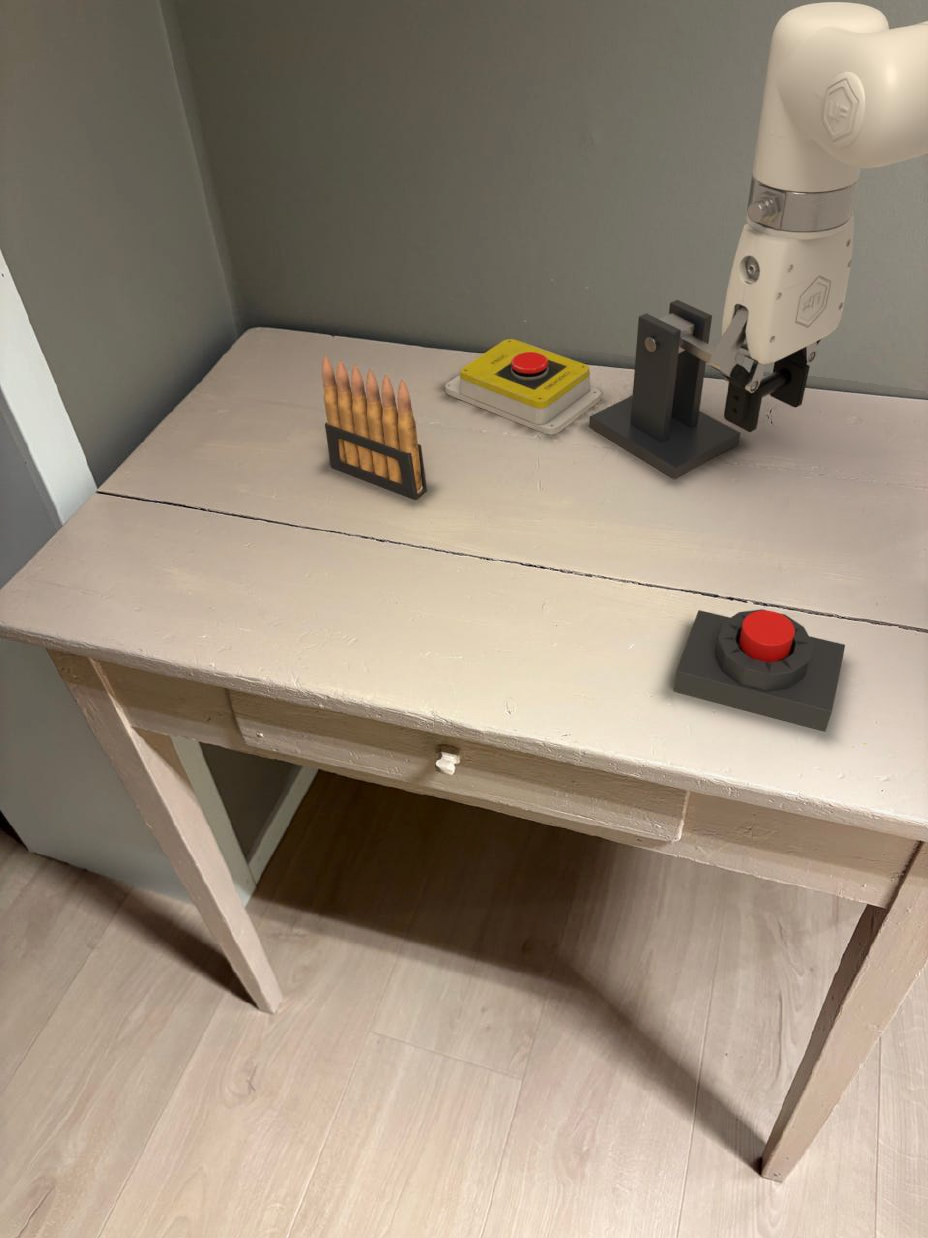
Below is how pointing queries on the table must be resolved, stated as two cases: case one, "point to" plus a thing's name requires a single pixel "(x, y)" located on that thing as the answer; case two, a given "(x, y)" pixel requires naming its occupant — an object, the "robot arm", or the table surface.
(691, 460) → the lever stand
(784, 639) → the red button
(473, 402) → the emergency button
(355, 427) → the ammunition clip
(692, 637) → the button block
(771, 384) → the tap lever
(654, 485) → the table surface
